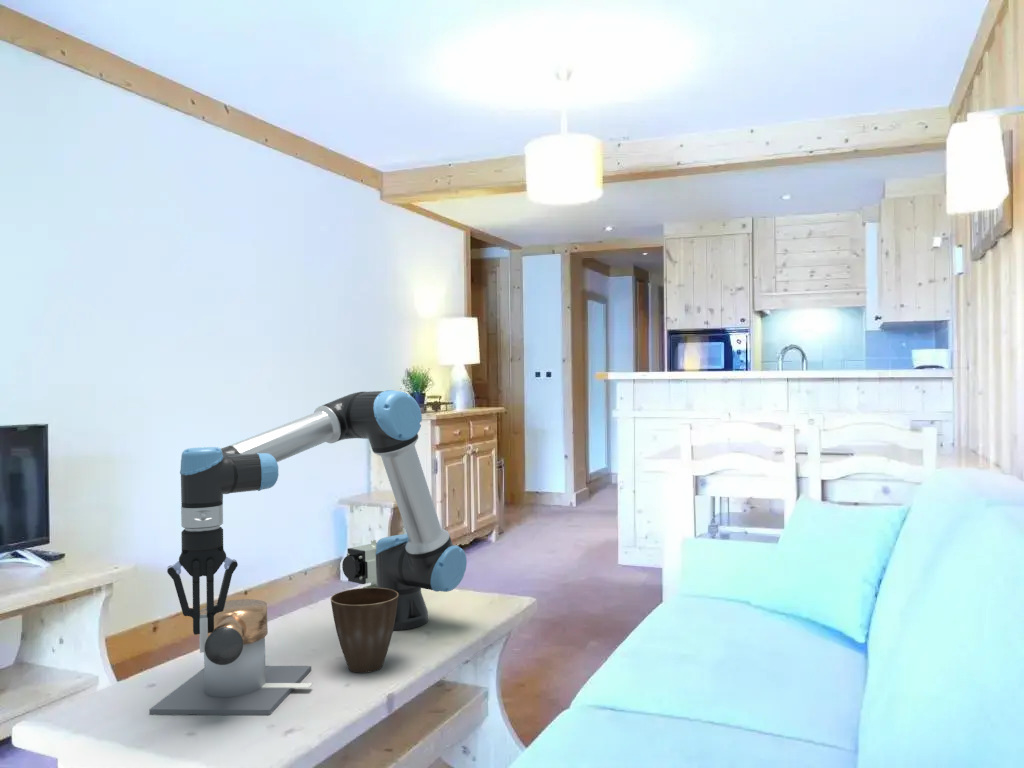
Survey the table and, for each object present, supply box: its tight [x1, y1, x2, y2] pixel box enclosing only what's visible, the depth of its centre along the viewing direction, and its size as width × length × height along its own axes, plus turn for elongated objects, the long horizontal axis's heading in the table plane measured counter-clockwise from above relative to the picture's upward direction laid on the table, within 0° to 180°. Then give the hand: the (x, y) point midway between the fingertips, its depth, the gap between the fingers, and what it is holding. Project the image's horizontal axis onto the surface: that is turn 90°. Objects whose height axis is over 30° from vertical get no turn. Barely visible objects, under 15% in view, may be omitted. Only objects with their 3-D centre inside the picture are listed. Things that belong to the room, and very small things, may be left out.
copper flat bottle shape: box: [200, 598, 269, 665], centre depth 158 cm, size 23×13×7 cm, turn 13°
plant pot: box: [330, 587, 398, 674], centre depth 175 cm, size 15×15×16 cm
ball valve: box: [341, 539, 377, 588], centre depth 232 cm, size 18×8×18 cm, turn 138°
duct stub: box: [148, 636, 314, 716], centre depth 163 cm, size 28×24×11 cm
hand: (203, 649), depth 151 cm, fingers closed
